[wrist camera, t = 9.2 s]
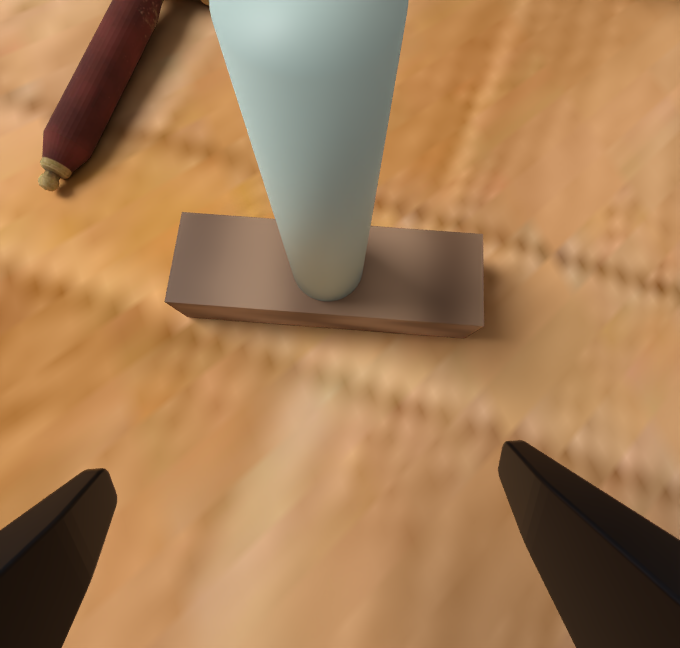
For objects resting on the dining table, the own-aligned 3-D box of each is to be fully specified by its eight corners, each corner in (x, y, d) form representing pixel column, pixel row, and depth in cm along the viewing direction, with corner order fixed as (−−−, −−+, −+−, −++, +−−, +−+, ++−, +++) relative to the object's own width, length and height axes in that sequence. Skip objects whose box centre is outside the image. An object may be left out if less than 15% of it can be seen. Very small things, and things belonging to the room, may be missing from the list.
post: (374, 283, 19) (444, 33, 7) (310, 312, 19) (255, 106, 6) (344, 225, 20) (354, -98, 7) (281, 252, 20) (180, -40, 7)
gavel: (94, 194, 20) (-67, 142, 21) (139, 229, 25) (5, 185, 26) (236, -99, 24) (93, -136, 25) (254, -22, 28) (132, -54, 29)
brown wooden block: (464, 257, 23) (482, 234, 20) (464, 338, 22) (484, 326, 19) (201, 237, 23) (181, 212, 20) (187, 316, 22) (164, 301, 19)
